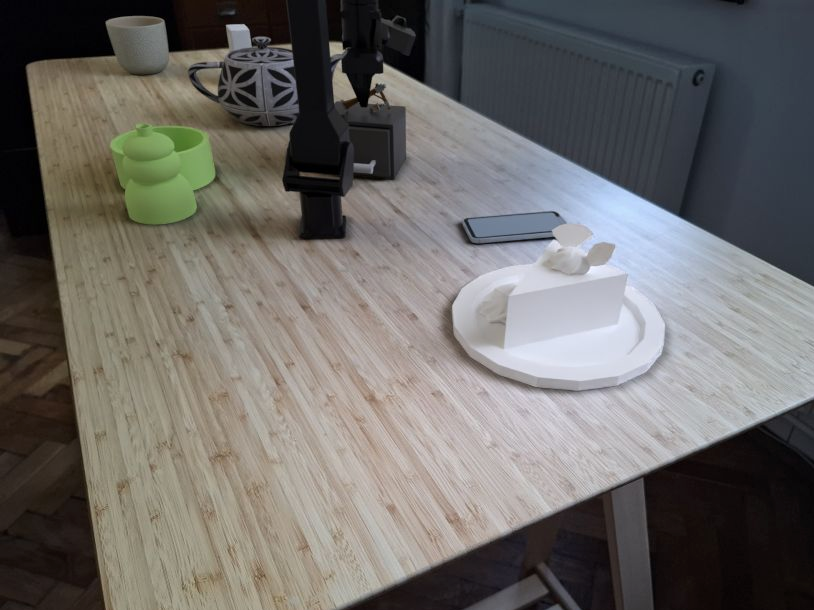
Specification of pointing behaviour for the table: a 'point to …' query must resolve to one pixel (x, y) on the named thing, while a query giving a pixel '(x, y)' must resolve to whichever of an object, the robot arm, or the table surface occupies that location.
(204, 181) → the food container
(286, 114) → the teapot
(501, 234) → the smartphone
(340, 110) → the cabinet
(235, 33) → the cosmetic box
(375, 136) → the drawer
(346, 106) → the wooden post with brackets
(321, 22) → the robot arm
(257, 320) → the table surface
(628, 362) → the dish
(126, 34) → the planter
